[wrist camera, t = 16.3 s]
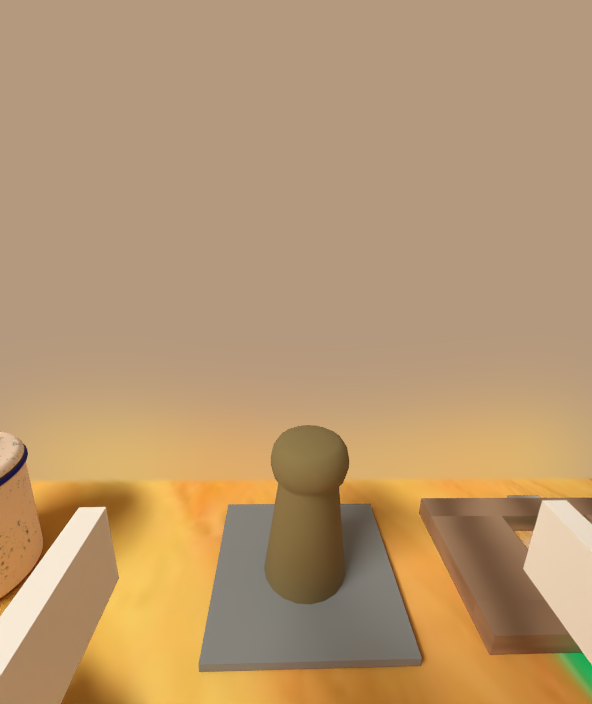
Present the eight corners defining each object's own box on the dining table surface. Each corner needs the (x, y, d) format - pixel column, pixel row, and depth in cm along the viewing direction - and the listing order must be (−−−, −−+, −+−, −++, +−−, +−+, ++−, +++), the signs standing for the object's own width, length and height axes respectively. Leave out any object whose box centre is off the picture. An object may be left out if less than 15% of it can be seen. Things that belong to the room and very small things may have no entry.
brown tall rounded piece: (275, 528, 31) (277, 410, 27) (348, 541, 30) (359, 420, 26) (253, 593, 25) (252, 455, 22) (341, 613, 24) (354, 470, 21)
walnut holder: (620, 507, 36) (625, 493, 35) (793, 646, 24) (804, 628, 23) (416, 508, 35) (419, 494, 34) (489, 654, 23) (494, 635, 22)
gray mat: (369, 509, 34) (370, 503, 34) (420, 665, 22) (421, 658, 22) (228, 510, 34) (228, 504, 33) (199, 671, 21) (198, 664, 21)
